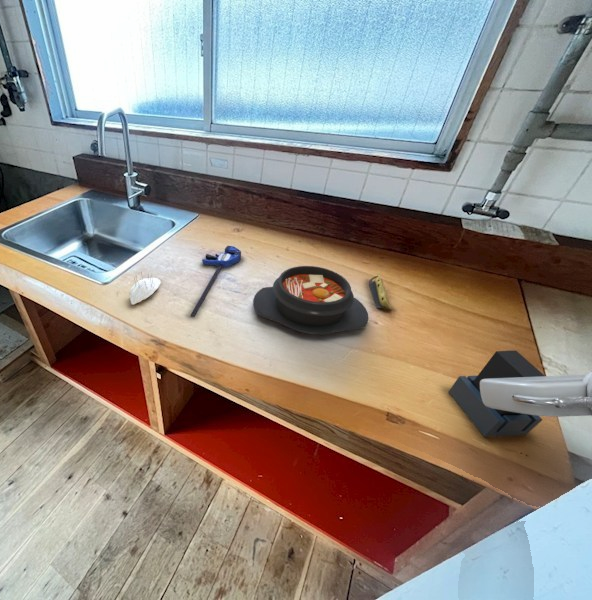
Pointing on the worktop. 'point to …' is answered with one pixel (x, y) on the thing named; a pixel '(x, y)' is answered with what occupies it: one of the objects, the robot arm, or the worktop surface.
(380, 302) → the yellow-green lumpy piece
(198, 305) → the bar clamp
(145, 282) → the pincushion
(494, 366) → the back pad
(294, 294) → the casserole
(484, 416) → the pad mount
